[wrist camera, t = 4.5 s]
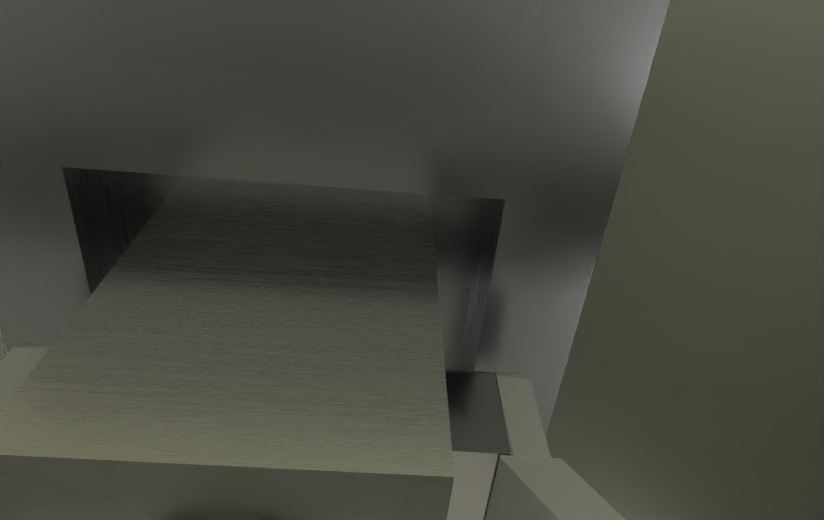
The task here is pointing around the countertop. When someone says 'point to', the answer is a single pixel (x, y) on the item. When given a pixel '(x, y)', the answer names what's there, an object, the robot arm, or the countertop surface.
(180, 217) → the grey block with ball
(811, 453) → the countertop surface
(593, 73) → the grey compartment tray
